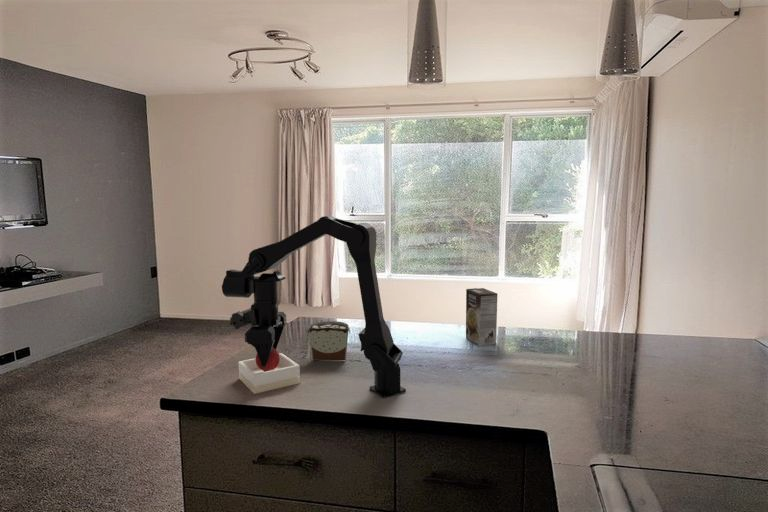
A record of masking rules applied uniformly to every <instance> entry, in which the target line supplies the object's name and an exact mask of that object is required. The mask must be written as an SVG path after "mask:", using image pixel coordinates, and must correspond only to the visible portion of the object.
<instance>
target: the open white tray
mask: <svg viewBox="0 0 768 512" xmlns="http://www.w3.org/2000/svg"><path fill="white" fill-rule="evenodd" d="M279 357H280V360H279V364H278V366H277V367H276V368H275V369H274V370H271V371H266V372H264V371H263V370H261V369H260V368H259V367H258V366H257V364H256V361H255V358H256V357H254V358H249V359H244V360H240V361H238V372H239V373H238V379H239V380H240V381H241V382H242V383H243V384H244V385H245V386H246V388H248V389H249V390H250V392H252V394H254V395H256V394H259V393H265V392H268V391H271V390H276V389H281V388H285V387H289V386H293V385H298V384H301V377H300V375H301V369H300V365H299V364H298V363H297V362H295V361H293V360H292V359H291V358H290V357H288V356H286V355H285V354H284V353H281V352H280V353H279Z"/></svg>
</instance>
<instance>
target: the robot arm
mask: <svg viewBox="0 0 768 512" xmlns="http://www.w3.org/2000/svg"><path fill="white" fill-rule="evenodd" d="M327 235H328V236H330V237H332V238H334V239H336V240H338V241H341V242H344V243H346V246H347V250H348V252H349V254H350V256H351V258H352V259H353V261H354V263H355V266H356V273H357V279H358V285H359V290H360V297H361V303H362V309H363V315H364V321H365V324H364V325H365V326H364V328H363V329H362V330H361V331H360V332H359V333H358V338H359V341H360V346H361V348H360V352H363V355H364V357H365V358H366V359H367V360H368V361H369V362H370V365H371V367H372V370H373V371H374V372H373V373H374V385H370V386H369V387H368V388H369V390H371V391H372V392H374V393H375V394H377V395H379V396H380V397H382V398H387V397H391V396H395V395H397V394H402V393H405V392H407V389H406V388H405V387H404V386H402V385H401V367H400V364H399V362H400V361H401V359H402V356H403V353H404V352H403V351H402V349H400V348H399V347H398V346H397V344H395V343H394V339H393V337H392V333H391V331H390V327H389V326H388V324H387V322H386V321H385V317H384V312H383V307H382V300H381V294H380V287H379V282H378V275H377V268H376V261H375V259H376V251H377V231H376V229H375V227H374V226H373V225H371V224H370V223H367V222H361V223H355V222H353V221H348V220H344V219H341V218H340V219H339V218H338V217H337V218H336V217H335V216H333V215H324V216H320V217H319V219H317V220H316V221H314V222H312V223H311V224H308V225H307V226H305V227H303V228H301V229H300V230H298V231H296V232H295V233H292V234H291V235H289V236H286V237H285V238H284V239H281V240H279V241H277V242H274V243H271V244H270V243H269V244H267V245H264V246H262V247H258V248H255V249H253V250H251V251H250V252H249V254H248V259H247V263H246V264H245V265H244V267H243V269H242V270H238V269H237V270H236V269H229V270H226V271H225V276H224V278H223V281H222V284H221V291H222V294H223V295H224V297H226V298H242V299H243V298H250V297H251V296H252V295H253V303H252V304H251V305H250V308H247V309H245V310H243V311H240V310H239V311H237V312H233V313H232V314H231V317H230V318H229V320H230V322H229V325H230V326H233V327H234V330H235V331H236V330H239V329H240V328H243V327H244V326H247V325H250V326H251V327H250V328H249V329H248V330H247V331H246V332H245V333H244V343H247V344H248V345H251V346H252V347H253V348H255V351H256V355H257V354H258V357H259V360H260V363H261V365H262V366H267V363H268V360H269V357H270V353H271V350H272V347H274V348H275V350H276V351H277V349H278V345H279V342H280V340H281V338H282V334H283V332H284V329H285V327H286V323H287V322H288V321H287V314H286V313H285V312H284V311H279V305H281V302H280V301H281V300H280V299H279V298H278V297H279V294H278V291H279V290H278V282H281V281H283V280H285V279H286V276H285V275H284V274H283V273H281V272H280V270H279V269H278V270H274V271H273V272H272V273H267V271H270V270H273V269H276V268H277V267H278V266H279V265H280V264H282V263H283V262H285V260H286V259H287V258H288V257H289V256H291V255H292V254H293V253H296V252H297V251H299V250H300V249H303V248H304V247H306V246H308V245H309V244H312V243H313V242H315V241H317V240H319V239H321V238H322V237H325V236H327ZM265 272H266V273H265ZM258 274H260V275H259V276H255V275H258Z"/></svg>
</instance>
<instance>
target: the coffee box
mask: <svg viewBox="0 0 768 512" xmlns="http://www.w3.org/2000/svg"><path fill="white" fill-rule="evenodd" d="M465 291H466V292H465V293H466V295H465V296H466V297H465V302H466V303H465V338H466V339H467V340H469V341H471V342H472V343H474V344H475V345H477V346H479V347H480V346H487V345H488V346H490V345H496V344H497V323H498V321H497V319H498V293H497V292H495V291H492V290H489V289H486V288H485V287H480V288H479V287H478V288H477V287H475V288H466V290H465Z"/></svg>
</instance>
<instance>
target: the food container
mask: <svg viewBox="0 0 768 512" xmlns="http://www.w3.org/2000/svg"><path fill="white" fill-rule="evenodd" d="M350 329H351V328H350V327H349V324H348V323H346V322H342V321H337V320H335V321H334V320H328V321H326V320H325V321H318V322H317V321H316V322H313V323H311V324H309V325H307V330H306V334H308V335H309V343H310V350H311V351H310V352H311V357H312V361H313V360H323V361H322V362H328V361H327V360H331V361H330V362H333V361H332V360H345V361H347V351H348V339H349V338H348V337H349V334H351V330H350ZM324 360H326V361H324ZM345 361H344V362H345Z"/></svg>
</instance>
